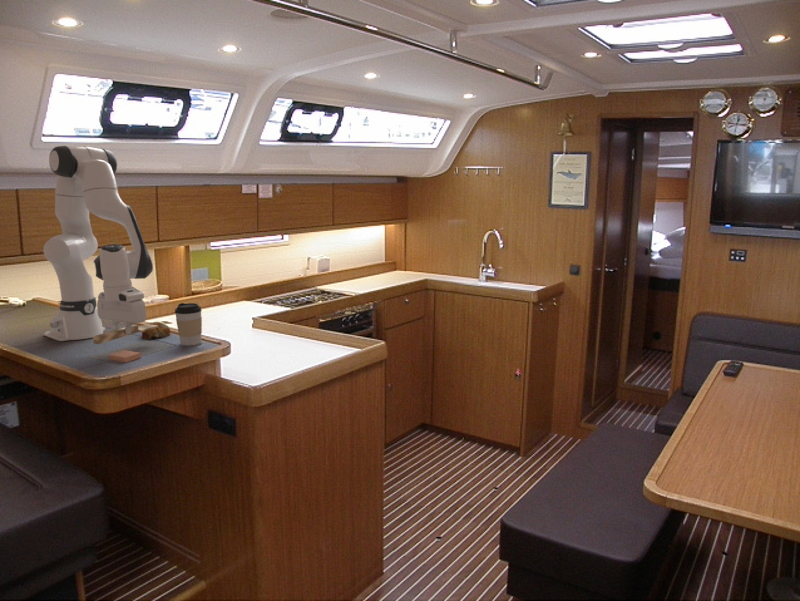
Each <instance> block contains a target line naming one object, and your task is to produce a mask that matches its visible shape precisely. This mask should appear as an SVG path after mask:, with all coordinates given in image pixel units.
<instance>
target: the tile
mask: <svg viewBox="0 0 800 601" xmlns="http://www.w3.org/2000/svg"><path fill="white" fill-rule="evenodd" d="M140 358H142V357H141V353H138V352H133V351H127V350H122V351H119V352H115V353H112V354H109V359H110V360H115V361H120V362H123V363H128V362H132V361H135V360H138V359H140Z"/></svg>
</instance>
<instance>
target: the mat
mask: <svg viewBox="0 0 800 601" xmlns="http://www.w3.org/2000/svg"><path fill="white" fill-rule="evenodd" d="M176 346H177V345H175V344H170V343H164V342H156V341H150V340H147V339H144V340H140V341H138V342H134V343H132V344H131V343H129V344H128V345H127V344H126V345H124V346H121V347H118V348H113V349H111V350H107V351H104V352H101V353H95V354H93V355H91V356H90V355H89V356H88V359H89V358H90V359H95V360H99V361H105V362H109V363H115V364H118V365H119V364H122V363H124V362H120V361H115V360H110V359H109V354H112V353H115V352H119V351H122V350H127V351H133V352H138V353H141V358H142V357H145V356H148V355H151V354H155V353H157V352H161V351H164V350H168V349H170V348H172V347H176Z"/></svg>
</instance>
